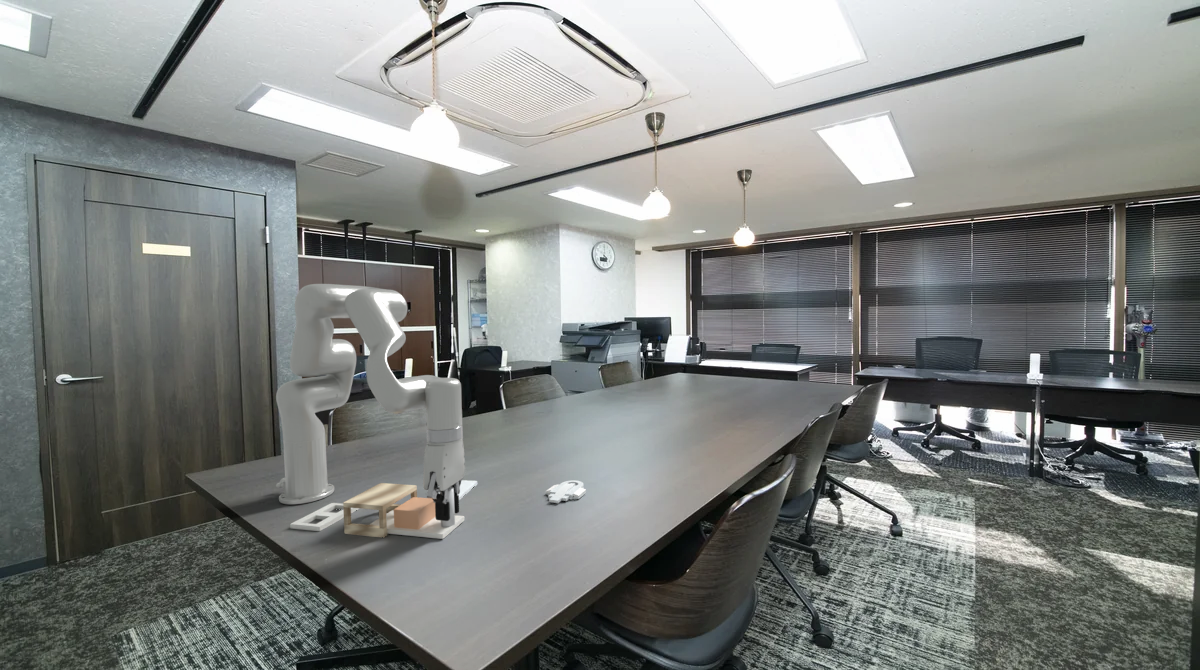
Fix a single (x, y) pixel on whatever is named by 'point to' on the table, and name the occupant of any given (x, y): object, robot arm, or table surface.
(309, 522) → the frame
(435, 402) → the robot arm
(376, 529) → the tunnel
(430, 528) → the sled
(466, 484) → the external hard drive
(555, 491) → the toy rocket
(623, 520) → the table surface
